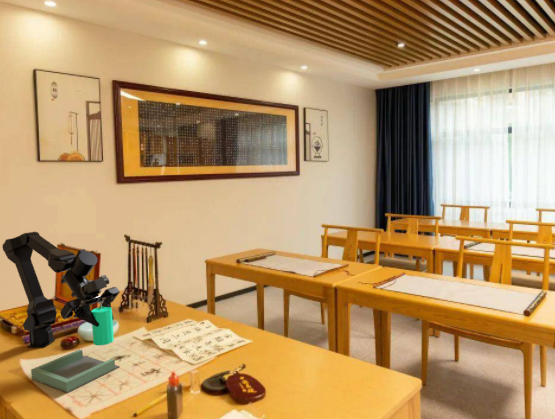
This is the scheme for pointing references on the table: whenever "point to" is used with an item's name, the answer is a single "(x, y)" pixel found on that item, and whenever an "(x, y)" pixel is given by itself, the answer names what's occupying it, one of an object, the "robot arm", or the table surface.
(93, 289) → the robot arm
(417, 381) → the table surface
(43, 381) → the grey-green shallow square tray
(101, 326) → the candle
